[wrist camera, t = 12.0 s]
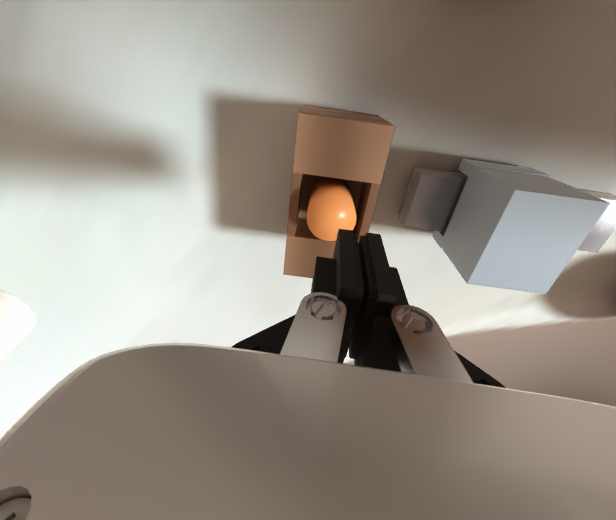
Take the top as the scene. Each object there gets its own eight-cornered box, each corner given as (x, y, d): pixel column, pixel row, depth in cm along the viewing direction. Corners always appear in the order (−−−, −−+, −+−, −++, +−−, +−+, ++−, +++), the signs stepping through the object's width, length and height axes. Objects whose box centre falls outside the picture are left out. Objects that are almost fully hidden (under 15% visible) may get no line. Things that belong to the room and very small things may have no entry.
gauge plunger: (355, 180, 19) (361, 198, 16) (347, 220, 20) (350, 244, 17) (312, 174, 18) (310, 191, 15) (307, 214, 20) (304, 237, 17)
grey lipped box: (531, 167, 21) (611, 201, 15) (491, 243, 24) (545, 295, 18) (462, 158, 20) (516, 187, 15) (432, 235, 24) (466, 284, 18)
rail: (610, 193, 22) (634, 203, 20) (577, 240, 24) (597, 252, 22) (414, 166, 21) (421, 173, 20) (398, 216, 23) (404, 226, 22)
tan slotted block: (377, 115, 20) (395, 126, 15) (349, 242, 25) (355, 283, 20) (305, 105, 20) (298, 112, 15) (292, 235, 25) (283, 274, 20)
